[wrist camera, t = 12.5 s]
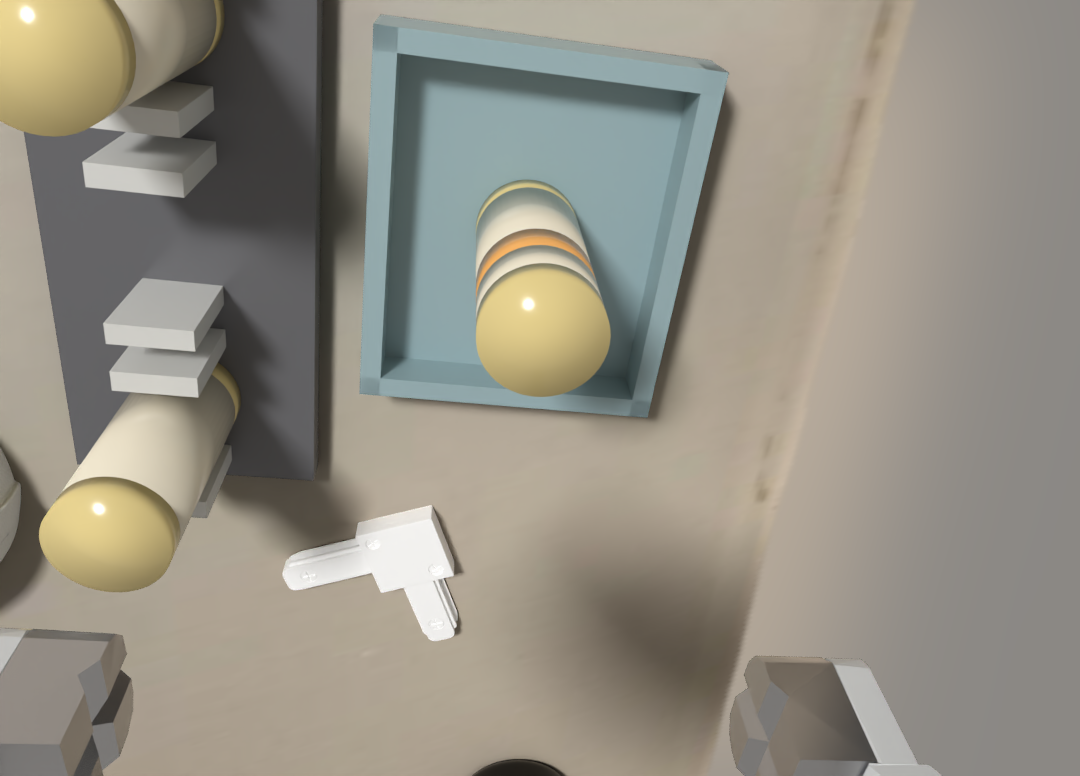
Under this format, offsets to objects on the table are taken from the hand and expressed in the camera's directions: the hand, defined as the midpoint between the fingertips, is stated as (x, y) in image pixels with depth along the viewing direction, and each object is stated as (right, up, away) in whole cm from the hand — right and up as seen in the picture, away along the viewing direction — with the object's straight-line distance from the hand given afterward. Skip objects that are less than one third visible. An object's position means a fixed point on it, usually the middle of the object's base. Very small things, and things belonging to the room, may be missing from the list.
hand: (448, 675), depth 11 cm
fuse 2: (-13, +4, +24) cm, 28 cm away
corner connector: (-7, -6, +32) cm, 34 cm away
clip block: (-12, +11, +21) cm, 27 cm away
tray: (+1, +10, +23) cm, 25 cm away
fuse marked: (+1, +10, +22) cm, 24 cm away
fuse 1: (-11, +16, +17) cm, 26 cm away
